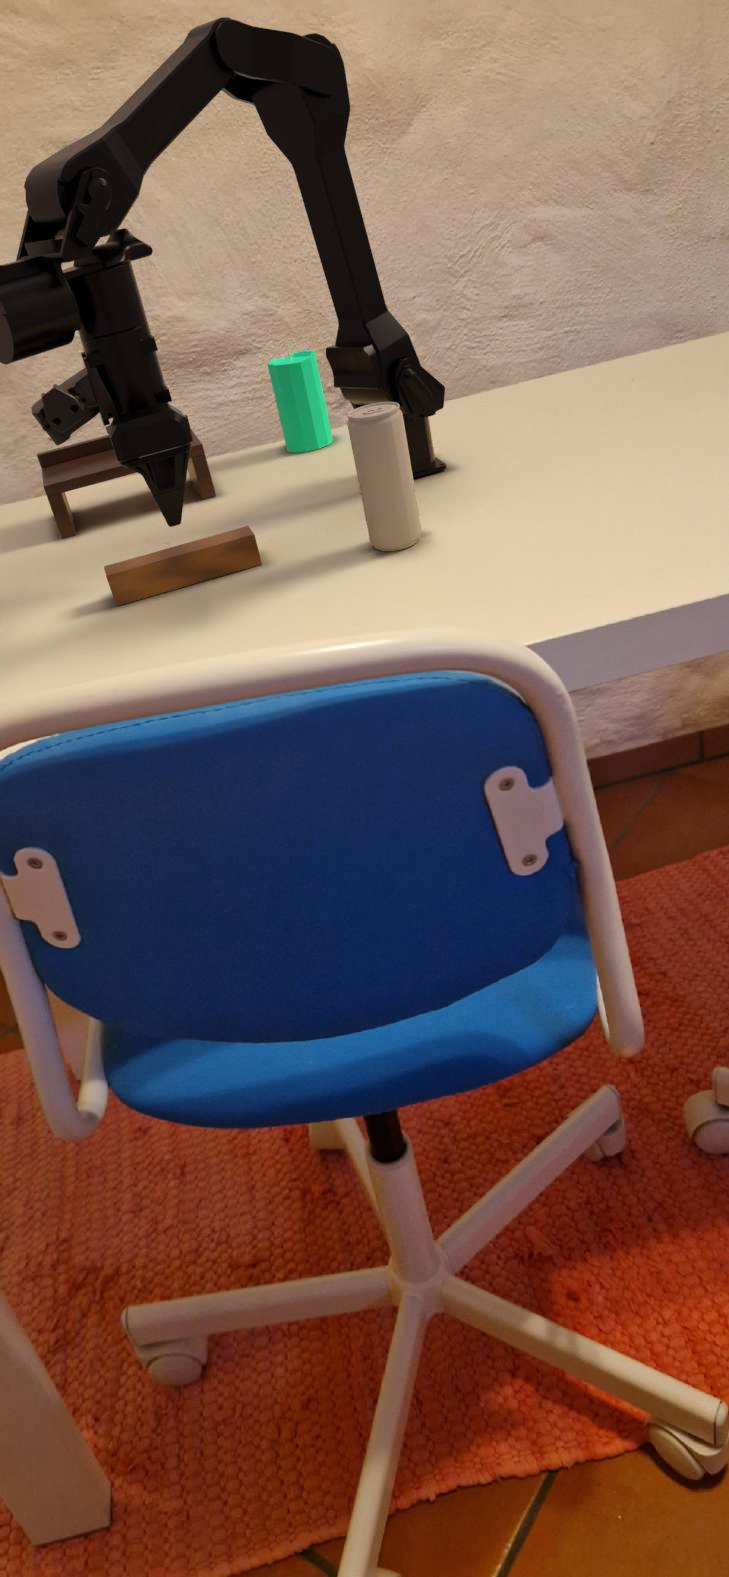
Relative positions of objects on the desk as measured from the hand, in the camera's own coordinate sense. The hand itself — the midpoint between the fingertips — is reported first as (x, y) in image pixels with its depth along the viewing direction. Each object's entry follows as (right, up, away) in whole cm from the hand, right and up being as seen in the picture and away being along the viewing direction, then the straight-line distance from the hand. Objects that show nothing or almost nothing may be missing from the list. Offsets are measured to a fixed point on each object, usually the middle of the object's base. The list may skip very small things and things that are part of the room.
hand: (168, 511), depth 96 cm
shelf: (-9, +8, +28) cm, 31 cm away
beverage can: (+21, -3, +1) cm, 21 cm away
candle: (+11, +18, +37) cm, 42 cm away
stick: (+1, -6, +3) cm, 7 cm away
